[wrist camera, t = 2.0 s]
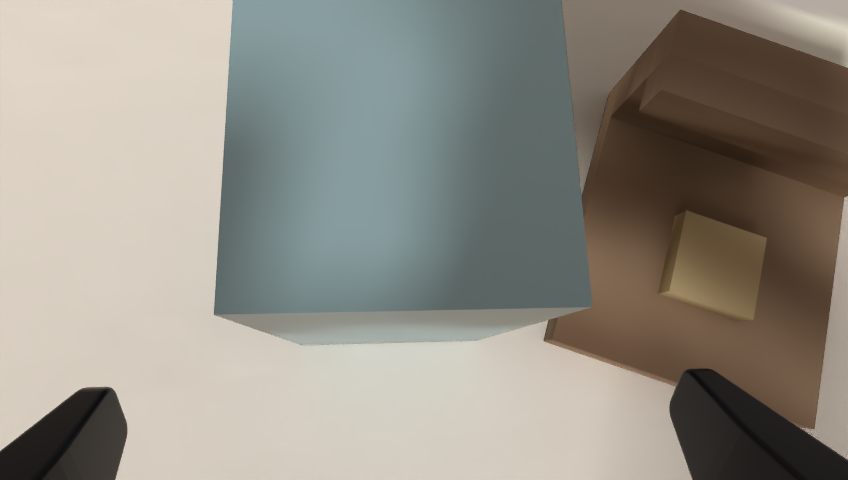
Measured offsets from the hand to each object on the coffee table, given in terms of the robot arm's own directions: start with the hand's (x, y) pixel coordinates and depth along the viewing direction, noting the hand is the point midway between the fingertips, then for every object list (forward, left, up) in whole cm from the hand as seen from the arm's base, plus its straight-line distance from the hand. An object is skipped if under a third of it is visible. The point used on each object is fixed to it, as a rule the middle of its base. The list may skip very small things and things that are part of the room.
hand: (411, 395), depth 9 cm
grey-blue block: (+3, -3, -11) cm, 12 cm away
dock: (-5, -12, -11) cm, 17 cm away
